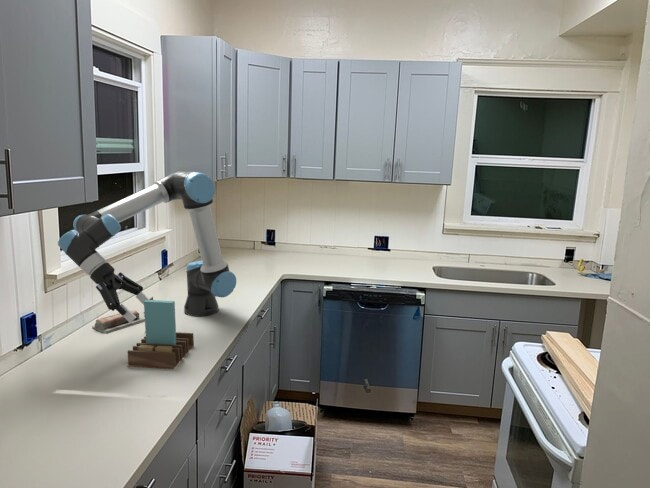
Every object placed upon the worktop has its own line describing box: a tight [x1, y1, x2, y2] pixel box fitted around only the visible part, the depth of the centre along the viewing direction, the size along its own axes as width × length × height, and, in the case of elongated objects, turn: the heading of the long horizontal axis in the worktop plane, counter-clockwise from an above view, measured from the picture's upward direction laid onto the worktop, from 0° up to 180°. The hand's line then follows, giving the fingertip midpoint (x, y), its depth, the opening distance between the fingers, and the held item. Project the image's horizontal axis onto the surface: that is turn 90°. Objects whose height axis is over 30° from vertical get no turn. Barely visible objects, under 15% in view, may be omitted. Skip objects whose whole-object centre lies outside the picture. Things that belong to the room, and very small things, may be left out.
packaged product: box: [91, 310, 145, 335], centre depth 197 cm, size 18×5×10 cm
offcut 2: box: [155, 346, 172, 352], centre depth 160 cm, size 2×5×6 cm, turn 86°
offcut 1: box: [138, 345, 155, 351], centre depth 160 cm, size 2×5×6 cm, turn 85°
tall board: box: [143, 299, 177, 345], centre depth 165 cm, size 2×10×20 cm, turn 85°
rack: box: [126, 331, 195, 370], centre depth 166 cm, size 19×16×6 cm
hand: (142, 313), depth 163 cm, fingers open, 13 cm apart
